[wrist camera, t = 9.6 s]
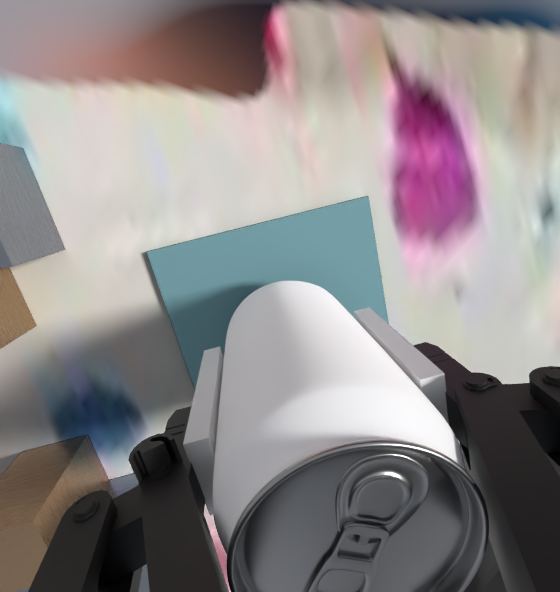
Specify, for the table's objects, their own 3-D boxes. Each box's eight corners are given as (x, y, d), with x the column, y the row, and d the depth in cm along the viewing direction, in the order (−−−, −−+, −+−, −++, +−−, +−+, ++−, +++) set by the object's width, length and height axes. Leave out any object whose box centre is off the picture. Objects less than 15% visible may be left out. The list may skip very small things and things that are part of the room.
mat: (396, 386, 23) (399, 389, 23) (212, 436, 23) (212, 440, 22) (365, 196, 20) (368, 196, 19) (148, 251, 19) (146, 252, 19)
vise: (214, 607, 26) (207, 722, 21) (79, 646, 26) (34, 774, 20) (22, 147, 17) (-87, 124, 11) (-190, 198, 17) (-414, 200, 11)
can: (365, 296, 19) (563, 458, 7) (324, 403, 20) (436, 675, 9) (245, 262, 18) (257, 390, 6) (211, 377, 19) (171, 653, 8)
